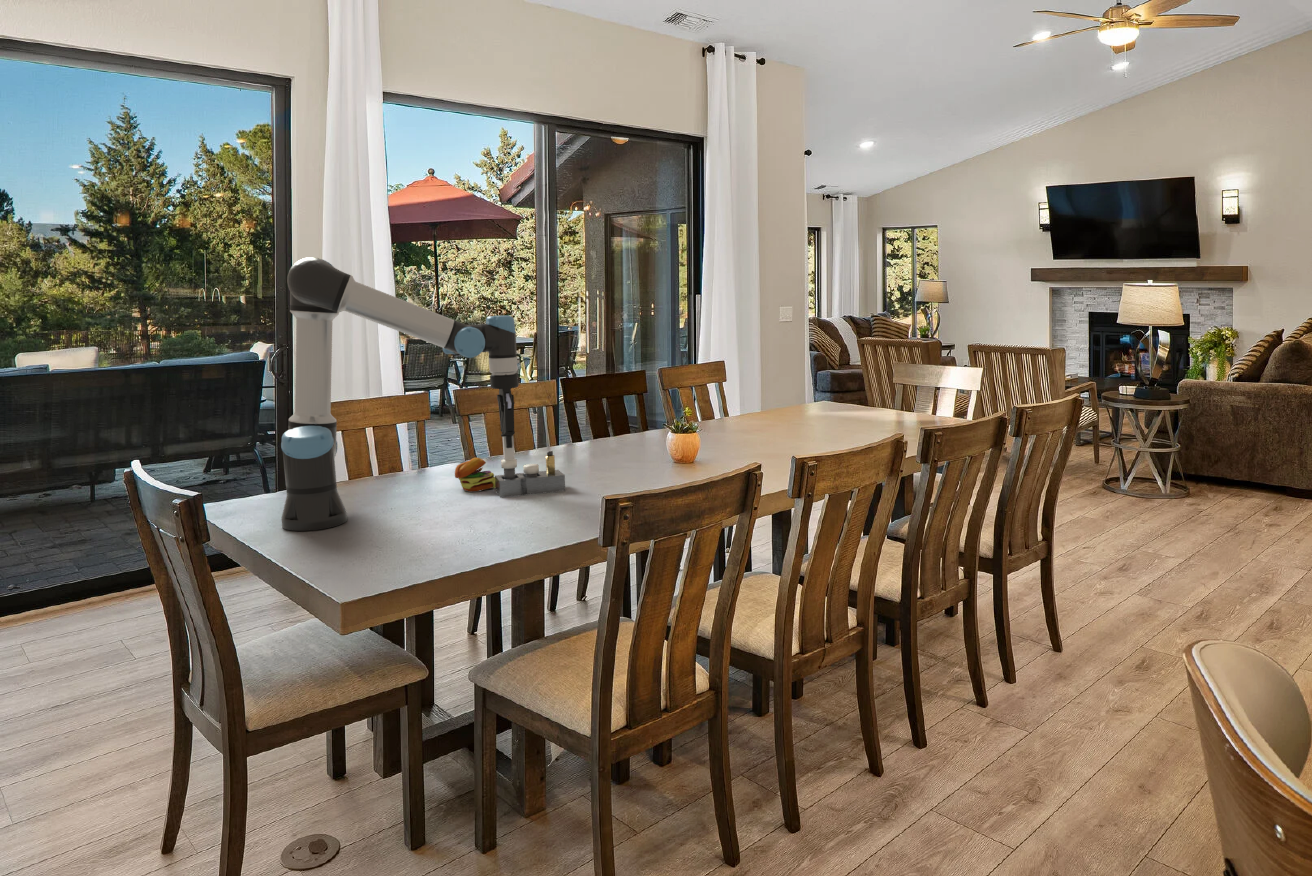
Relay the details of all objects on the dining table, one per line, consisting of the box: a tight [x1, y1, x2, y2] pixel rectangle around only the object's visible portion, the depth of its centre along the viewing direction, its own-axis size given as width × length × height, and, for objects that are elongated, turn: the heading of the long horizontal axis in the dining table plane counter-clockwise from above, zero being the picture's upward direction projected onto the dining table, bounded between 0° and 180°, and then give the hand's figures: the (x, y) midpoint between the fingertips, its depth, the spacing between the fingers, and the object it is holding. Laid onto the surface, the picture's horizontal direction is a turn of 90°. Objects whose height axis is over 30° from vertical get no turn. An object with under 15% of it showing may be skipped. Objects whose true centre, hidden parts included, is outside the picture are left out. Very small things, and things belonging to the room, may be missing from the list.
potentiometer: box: [545, 450, 556, 474], centre depth 256 cm, size 2×2×6 cm
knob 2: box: [522, 463, 540, 477], centre depth 255 cm, size 4×4×7 cm
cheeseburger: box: [454, 457, 496, 493], centre depth 260 cm, size 10×11×10 cm
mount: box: [494, 469, 566, 498], centre depth 255 cm, size 18×8×4 cm, turn 108°
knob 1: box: [500, 458, 518, 479], centre depth 253 cm, size 4×4×7 cm
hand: (509, 458), depth 252 cm, fingers closed
